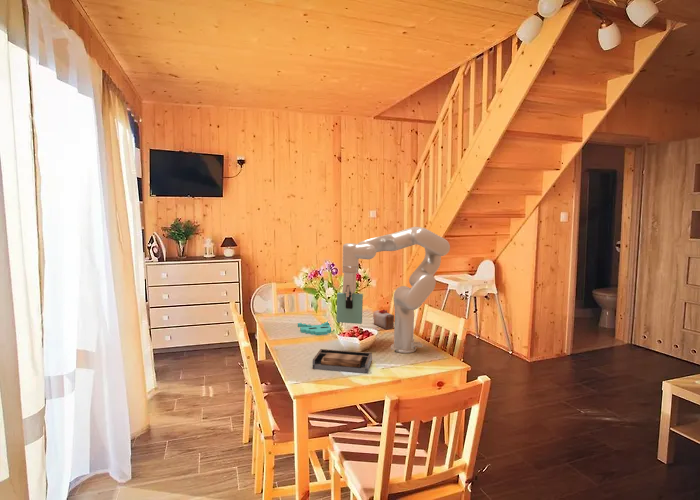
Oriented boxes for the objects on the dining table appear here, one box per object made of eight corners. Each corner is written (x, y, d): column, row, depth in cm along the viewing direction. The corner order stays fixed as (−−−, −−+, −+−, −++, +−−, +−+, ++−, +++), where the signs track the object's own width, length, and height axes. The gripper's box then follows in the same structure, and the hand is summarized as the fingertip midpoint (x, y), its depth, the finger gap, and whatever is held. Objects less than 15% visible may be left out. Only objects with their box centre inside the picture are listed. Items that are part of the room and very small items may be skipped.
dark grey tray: (371, 363, 196) (371, 352, 195) (367, 375, 182) (367, 364, 181) (320, 359, 200) (320, 349, 200) (312, 371, 186) (312, 359, 186)
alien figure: (297, 326, 252) (303, 337, 233) (297, 323, 252) (303, 333, 233) (330, 324, 258) (339, 334, 239) (330, 320, 258) (339, 330, 239)
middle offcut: (358, 361, 191) (359, 358, 190) (357, 366, 185) (357, 363, 185) (323, 359, 193) (323, 356, 193) (320, 364, 187) (320, 361, 187)
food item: (371, 324, 257) (371, 308, 256) (381, 322, 261) (381, 306, 260) (385, 330, 246) (385, 313, 245) (396, 328, 250) (396, 311, 249)
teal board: (362, 322, 206) (362, 293, 204) (361, 323, 203) (361, 294, 202) (337, 320, 208) (338, 292, 206) (336, 322, 206) (337, 293, 204)
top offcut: (362, 359, 189) (362, 355, 189) (359, 364, 184) (359, 360, 183) (327, 356, 193) (327, 352, 193) (323, 360, 187) (323, 357, 187)
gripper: (345, 266, 211) (345, 303, 213) (339, 271, 196) (338, 311, 198) (360, 267, 210) (360, 304, 212) (355, 272, 194) (354, 312, 196)
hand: (349, 307), depth 205 cm, fingers closed on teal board, 2 cm apart
